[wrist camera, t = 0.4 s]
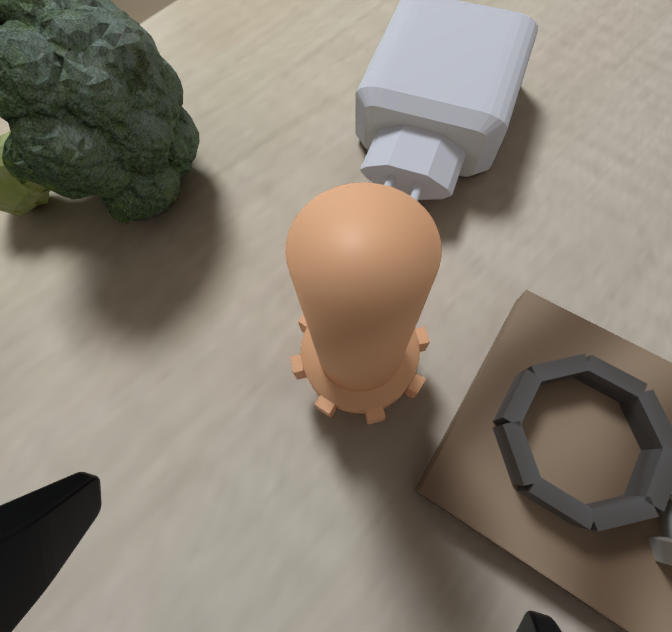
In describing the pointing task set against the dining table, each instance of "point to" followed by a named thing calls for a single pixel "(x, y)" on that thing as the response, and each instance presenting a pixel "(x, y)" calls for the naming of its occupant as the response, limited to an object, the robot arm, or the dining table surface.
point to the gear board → (568, 461)
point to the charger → (440, 93)
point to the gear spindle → (362, 295)
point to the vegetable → (88, 110)
